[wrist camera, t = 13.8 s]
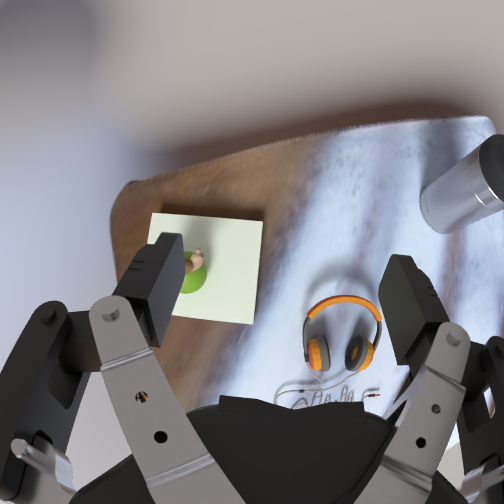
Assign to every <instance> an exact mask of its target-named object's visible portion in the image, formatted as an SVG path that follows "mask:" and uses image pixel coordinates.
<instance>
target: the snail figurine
mask: <svg viewBox="0 0 504 504" xmlns="http://www.w3.org/2000/svg"><path fill="white" fill-rule="evenodd" d="M184 258H185V278H184V282H183V285H182V287H181V290H180V293H182V294H190V293H194V292H196V291H198V290H199V289H200V288H201V287H202V286H203V285H204V283H205V281H206V278H207V267H206V264H205V262H204V254H203V253H202V252H201V250H200V248H197V249H196V252H194V253H193V252H190V251H184Z"/></svg>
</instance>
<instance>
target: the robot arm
mask: <svg viewBox="0 0 504 504" xmlns="http://www.w3.org/2000/svg"><path fill="white" fill-rule="evenodd" d="M420 207H421V211H422V214H423V217H424V219H425V221H426V222H427V223H428V225H429V226H430V227H431V228H432V229H434V230H435V231H437V232H439V233H443V234H447V233H450V232H453V231H455V230H458V229H460V228H462V227H465V226H467V225H469V224H472V223H474V222H476V221H479V220H481V219H483V218H485V217H487V216H490V215H492V214H494V213H496V212H498V211H501V210H503V209H504V135H501V134H496V135H492V136H491V137H489V138H488V139H487V140H485V141H484V142H483V143H482V144H480V145H479V146H478V147H477V148H475V149H474V150H473V151H472V152H471V153H469V154H468V155H467V156H466V157H464V158H463V159H462V160H460V161H459V162H458V163H457V164H455V165H454V166H453V167H451V168H450V169H449V170H448V171H446V172H445V173H444V174H442V175H441V176H440V177H438V178H437V179H436V180H435V181H433V182H432V183H431V184H429V185H428V186H427V187H425V189H424V190H423V192H422V194H421V198H420ZM184 278H185V258H184V246H183V237H182V234H181V233H170V232H161V233H160V235H159V237H158V238H157V240H156V242H155V244H147V245H145V246H144V247H143V248H141V249H140V250H139V251H138V252H137V253H136V255H135V257H134V258H133V260H132V262H131V263H130V265H129V266H128V270H126V271H125V273H124V275H123V277H122V278H121V280H120V282H119V283H118V285H117V287H116V288H115V290H114V292H113V294H112V295H111V296H107V297H104V298H102V299H100V300H98V301H97V302H96V303H94V304H93V306H92V307H91V309H90V310H88V311H78V312H68V310H67V308H66V306H65V305H64V304H63V303H62V302H59V301H48V302H46V303H43V304H42V305H40V306H39V307H38V308H37V309H36V310H35V311H34V313H33V314H32V316H31V318H30V319H29V321H28V323H27V324H26V326H25V328H24V330H23V331H22V333H21V335H20V337H19V338H18V340H17V342H16V344H15V346H14V348H13V350H12V352H11V353H10V355H9V357H8V359H7V361H6V363H5V365H4V367H3V369H2V371H1V373H0V500H2V501H4V502H7V503H9V504H504V339H503V338H501V337H499V336H492V337H491V338H490V339H489V340H488V341H487V342H486V344H485V345H483V344H479V343H476V342H473V341H470V337H469V335H468V333H467V332H466V331H465V330H464V329H463V328H462V327H461V326H459V325H458V324H455V323H452V322H450V320H449V318H448V316H447V314H446V311H445V309H444V307H443V305H442V303H441V301H440V299H439V297H437V296H438V295H437V293H436V291H435V289H434V287H433V285H432V283H431V281H430V279H429V278H428V277H427V275H426V274H425V273H424V272H423V271H422V270H421V269H418V268H417V266H416V264H415V262H414V260H413V258H412V257H411V256H407V255H398V254H393V255H392V256H391V257H390V259H389V262H388V264H387V267H386V270H385V272H384V275H383V277H382V280H381V282H380V285H379V290H378V297H379V302H380V305H381V308H382V311H383V315H384V318H385V321H386V325H387V328H388V332H389V335H390V339H391V342H392V346H393V350H394V353H395V357H396V361H397V365H409V368H410V370H409V371H408V372H407V374H406V376H405V378H404V379H403V381H402V383H401V385H400V387H399V389H398V391H397V393H396V395H395V396H394V398H393V400H392V402H391V404H390V405H389V407H388V409H387V410H386V412H385V413H384V415H383V416H382V417H380V416H378V415H376V414H373V413H370V412H366V411H364V403H363V401H360V402H328V403H324V404H320V405H315V406H311V407H306V408H301V409H289V408H286V407H282V406H279V405H275V404H272V403H268V402H265V401H262V400H259V399H252V398H242V397H233V396H224V395H220V398H219V404H216V405H209V406H204V407H201V408H198V409H195V410H193V411H190V412H188V413H186V414H185V412H184V411H183V409H182V407H181V405H180V404H179V402H178V400H177V398H176V396H175V394H174V392H173V391H172V389H171V387H170V385H169V383H168V381H167V379H166V377H165V375H164V373H163V371H162V369H161V367H160V365H159V363H158V361H157V359H156V357H155V355H154V353H153V351H152V350H151V349H150V346H152V347H158V348H160V346H161V343H162V341H163V338H164V335H165V332H166V329H167V326H168V323H169V320H170V318H171V315H172V312H173V309H174V307H175V304H176V301H177V298H178V296H179V293H180V290H181V287H182V285H183V282H184ZM100 371H101V372H102V376H103V379H104V382H105V385H106V388H107V391H108V394H109V397H110V399H111V402H112V405H113V408H114V410H115V413H116V416H117V418H118V420H119V423H120V425H121V428H122V430H123V433H124V435H125V437H126V440H127V442H128V444H129V447H130V449H131V451H132V454H131V455H129V456H128V457H126V458H125V459H124V460H122V461H121V462H119V463H118V464H117V465H115V466H114V467H112V468H111V469H109V470H108V471H107V472H105V473H104V474H102V475H101V476H99V477H98V478H96V479H95V480H93V481H92V482H90V483H89V484H87V485H86V486H84V487H82V488H81V489H80V490H79V491H77V492H76V491H75V488H74V486H73V482H72V479H73V471H72V470H73V469H72V465H71V462H70V460H69V458H68V457H67V456H66V455H65V452H66V449H67V445H68V442H69V438H70V435H71V431H72V428H73V425H74V422H75V418H76V415H77V412H78V409H79V405H80V403H81V400H82V397H83V394H84V391H85V388H86V386H87V383H88V380H89V377H90V374H91V372H100ZM489 387H490V389H491V392H492V395H493V399H494V402H495V413H494V415H493V417H492V418H491V419H490V416H489V412H488V408H487V404H486V401H485V397H484V392H485V391H486V390H487V389H488V388H489ZM455 423H457V428H458V433H459V439H460V445H461V452H462V459H463V465H464V466H463V467H464V475H465V477H464V479H463V482H462V486H460V487H459V488H458V489H455V487H454V486H453V485H452V484H451V483H450V482H449V481H448V480H447V479H446V478H445V477H444V476H443V475H442V474H441V473H440V472H439V471H438V470H437V467H438V465H439V463H440V461H441V458H442V456H443V454H444V451H445V449H446V447H447V444H448V442H449V439H450V436H451V434H452V431H453V429H454V426H455Z"/></svg>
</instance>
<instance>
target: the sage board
mask: <svg viewBox="0 0 504 504" xmlns="http://www.w3.org/2000/svg"><path fill="white" fill-rule="evenodd" d="M262 225H263V222H261V221H250V220H239V219H227V218H215V217H202V216H189V215H176V214H161V213H152V219H151V224H150V230H149V237H148V243H147V244H155V242H156V240H157V238H158V237H159V235H160V233H161V232H170V233H181V234H182V237H183V246H184V251H190V252H193V253H194V252H196V249H197V248H200V250H201V252H202V253H203V254H204V262H205V264H206V267H207V278H206V281H205V283H204V285H203V286H202V287H201V288H200V289H199V290H198V291H196V292H194V293H190V294H182V293H179V296H178V298H177V301H176V304H175V307H174V309H173V312H172V315H177V316H185V317H192V318H200V319H208V320H217V321H225V322H235V323H244V324H253V320H254V310H255V300H256V289H257V279H258V268H259V258H260V247H261V236H262Z"/></svg>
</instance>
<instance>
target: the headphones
mask: <svg viewBox="0 0 504 504" xmlns="http://www.w3.org/2000/svg"><path fill="white" fill-rule="evenodd" d="M340 302H352V303H357V304H360V305H362V306H364V307H366V308H367V309H368V310H369V311H370V312H371V313H372V314H373V316H374V318H375V320H376V321H377V332H376V336H375V339H374V342H373V344H372V343H371V342H369V341H367V339H366V338H365V337H362V336H357V337H355V338H354V339H353V340H352V342H351V343H350V345H349V347H348V349H347V352H346V356H345V366H346V369H347V370H349V371H353V372H355V371H357V370H359V371H358V372H356V373H354V374H352V375H350V376H348V377H347V378H345V379H344V380H343V381H342V382H341V383H339V384H337V385H335V386H332V387H330V388H327V389H323V390H316V389H318V388H320V387H321V386H322V384H323V381H322V379H320V378H319V377H317V376H315V375H314V374H313V373H312V371H311V370H310V368H309V364H310V367H311V368H312V369H313V370H320V369H321V370H322V371H323V372H324V371H328V370H329V368H330V353H329V348H328V344H327V341H326V339H325V337H324V336H323V335H318V336H316V338H315V339H311V340H309V341H308V343H307V346H306V331H307V326H308V323H309V321H310V320H311V319H312V318H314V317H315V315H316V314H317V313H318V312H320V311H321V310H322V309H324V308H325V307H327V306H329V305H332V304H335V303H340ZM381 320H382V317H381V315H380V313H379V311H378V310H377V308H376V307H375V306H374V305H373V304H372V303H371V302H369V301H368V300H366V299H364V298H361V297H358V296H353V295H337V296H332V297H329V298H326V299H324V300H322V301H320V302H319V303H317V304H316V305H315V306H313V307H312V308H311V309H310V311H309V312H308V313H307V318H306V320H305V322H304V325H303V347H304V357H305V362H306V363H307V367H308V369H309V371H310V373H311V374H312V375H313V376H314V377H316V378H317V379H319V380H320V381H321V385H320V386H319V387H317V388H315V389H311V390H291V391H285V392H282V393H280V394H279V395H278V396H277V397H276V398H275V400H274V404H275V402H276V399H277V398H278V397H279V396H280V395H281V394H284V393H287V392H300V393H304V392H319V391H325V390H328V389H331V388H334V387H336V386H338V385H340V384H342V383H343V382H344V381H345V380H346V379H348V378H349V377H351V376H353V375H356V374H357V373H359V372H360V371H361V370H364V369H365V368H367V367H368V366H369V364H370V362H371V361H372V359H373V354H374V352H375V350H376V348H377V346H378V343H379V340H380V336H381V332H382V323H381ZM308 362H309V364H308ZM313 390H315V391H313ZM345 394H347V397H346V400H345V402H346V401H347V398H348V393H344V394H343V396H342V399H341V402H342V400H343V397H344V395H345ZM375 396H380V394H377V395H375V394H369V395H366V396H365V397H364V398H363V400H362V401H364V399H365V398H366V397H375ZM318 397H320V398H321V401H320V404H321V403H322V397H321V396H317V397H316V398H315V399H314V401H313V404H312V406H313V405H314V402H315V400H316V399H317V398H318ZM351 398H353V399H352V402H353V400H354V397H350V398H349V401H348V402H350V399H351ZM327 401H329V402H331V401H330V400H326V402H325V403H327ZM300 404H304V405H305V407H307V405H306V404H305V403H299V404H297V405H296V406H295V407H294V408H293V409H295V408H296V407H297V406H298V405H300Z"/></svg>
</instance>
